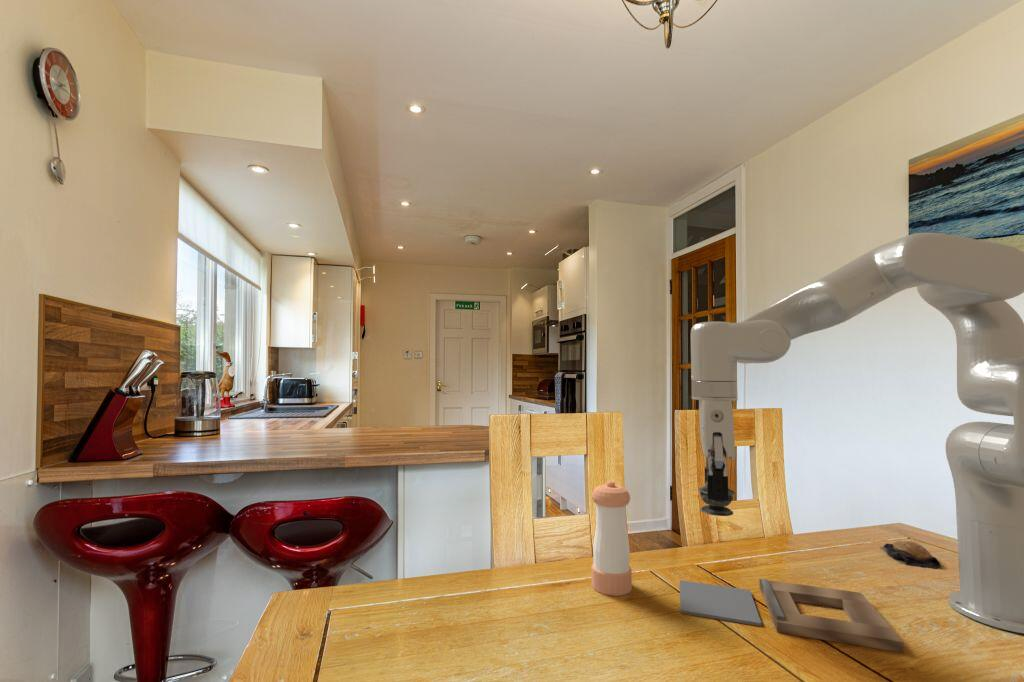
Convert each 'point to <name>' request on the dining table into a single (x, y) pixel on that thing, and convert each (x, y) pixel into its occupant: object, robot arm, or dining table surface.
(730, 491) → the salt shaker
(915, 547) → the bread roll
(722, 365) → the robot arm
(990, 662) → the dining table surface
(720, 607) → the slate mat
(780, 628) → the brown wooden square frame
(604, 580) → the pepper shaker
